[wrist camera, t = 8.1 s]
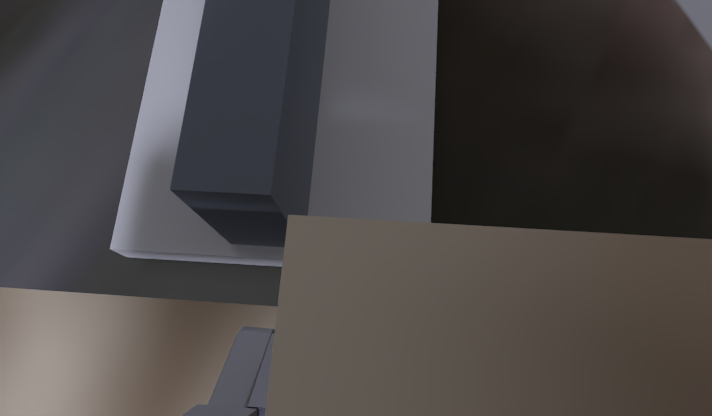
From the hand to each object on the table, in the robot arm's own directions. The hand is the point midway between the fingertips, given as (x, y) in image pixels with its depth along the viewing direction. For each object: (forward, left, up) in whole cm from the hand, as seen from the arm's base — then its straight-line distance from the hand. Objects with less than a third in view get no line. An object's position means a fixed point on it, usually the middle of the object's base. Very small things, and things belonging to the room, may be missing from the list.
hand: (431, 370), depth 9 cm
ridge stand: (-15, +5, -14) cm, 21 cm away
